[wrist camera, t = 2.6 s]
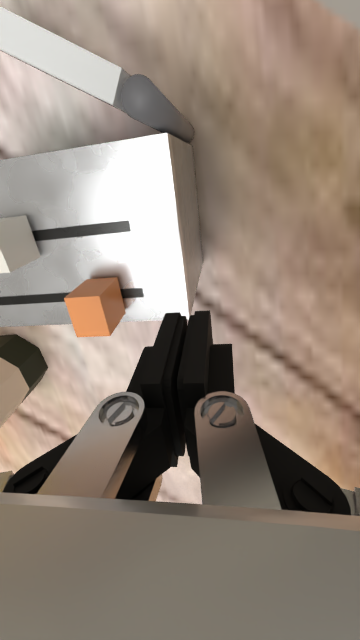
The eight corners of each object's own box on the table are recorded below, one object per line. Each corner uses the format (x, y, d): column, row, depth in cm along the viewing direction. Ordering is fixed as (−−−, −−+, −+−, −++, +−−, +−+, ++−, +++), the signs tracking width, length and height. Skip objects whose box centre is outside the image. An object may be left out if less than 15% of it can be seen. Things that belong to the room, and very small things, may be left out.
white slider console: (192, 146, 24) (166, 132, 13) (202, 262, 28) (189, 319, 18) (24, 171, 27) (-106, 177, 16) (58, 273, 31) (-26, 328, 21)
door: (201, 114, 23) (171, 54, 10) (189, 145, 24) (149, 126, 11) (15, 20, 22) (-280, -178, 9) (12, 58, 23) (-254, -73, 10)
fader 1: (25, 215, 16) (-10, 224, 14) (40, 257, 17) (10, 272, 15) (-5, 218, 16) (-45, 228, 14) (11, 259, 18) (-23, 275, 15)
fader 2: (117, 277, 17) (99, 296, 15) (125, 312, 18) (110, 335, 16) (86, 279, 17) (63, 298, 15) (96, 314, 19) (76, 336, 16)
